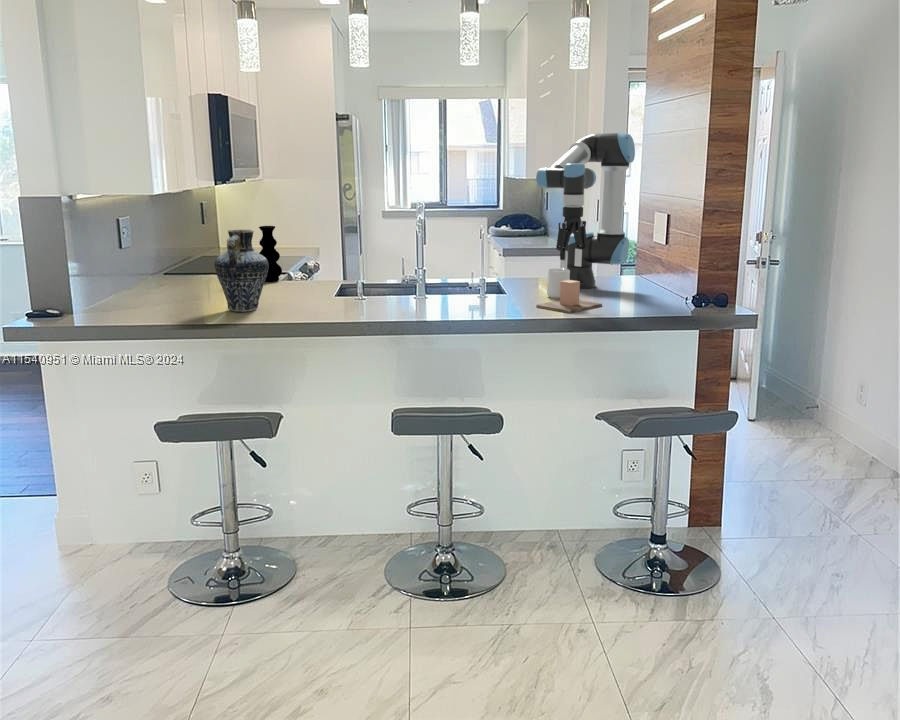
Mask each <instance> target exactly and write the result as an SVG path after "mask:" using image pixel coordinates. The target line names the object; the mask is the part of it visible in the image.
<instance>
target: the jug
mask: <svg viewBox="0 0 900 720" xmlns="http://www.w3.org/2000/svg"><path fill="white" fill-rule="evenodd" d="M227 232H228V238H227V240H226V247H227V251H224V252H223V253H222V254H220V255H218V256H217V257H216V259H215V260H214V264H213V265H214V270H215V273H216V276H217V279H218V281H219V284H220V286H221V288H222V290H223V291H222V292H223V293H224V297H225V300H226V302H227V303H226V304H227V309H228V310H229V311H233V312H239V313H241V312H242V313H243V312H248V313H249V312H252V311H256V310H257V309H258V306H259V301H260V298H261V295H262V291H263V289H264V285H265V282H266V281H265V280H266V277H267V274H268V268H269V264H268V261H267V259H266V258H265V257H264V256H263V255H261V254H259V253H260V252H257V251H255V249H254V247H253V244H252V243H253V242H252V240H253V236H254V230H253V229H228V230H227Z"/></svg>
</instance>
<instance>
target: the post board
mask: <svg viewBox="0 0 900 720" xmlns="http://www.w3.org/2000/svg"><path fill="white" fill-rule="evenodd" d="M535 307H536V308H539V309H543V308H544V309H545V310H549V311H550V310H551V311H555V312H559V313H560V312H561V313H565V314H574V313H578V312H581V311H586V310H591V309H595V308H599V307H600V308H601V307H603V303H601V302H595V301H589V300H583V299H579V304H577V305H573V306H568V305H562V304H560V299H557V300H554V301H553V300H552V301H547V302H543V303H538V304H536V306H535Z"/></svg>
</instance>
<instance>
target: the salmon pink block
mask: <svg viewBox="0 0 900 720" xmlns="http://www.w3.org/2000/svg"><path fill="white" fill-rule="evenodd" d="M580 289H581V288H580V281H574V280H565V281H561V284H560V299H559V300H560V304H562V305H568V306H573V305H577V304H579V300H580V294H581V293H580V292H581V291H580Z"/></svg>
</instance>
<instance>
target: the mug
mask: <svg viewBox="0 0 900 720" xmlns="http://www.w3.org/2000/svg"><path fill="white" fill-rule="evenodd" d="M565 280H570V270H568V269H563V268H560V267H558V268H557V267H556V268H549V269H547V281H546V282H547V284H546V286H547V287H546V288H547V289H546V290H547V291H546V292H547V293H546V295H547V296H548V297H549V298H550V299H555V300H556V299H557V300H560V284H561V281H565Z"/></svg>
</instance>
